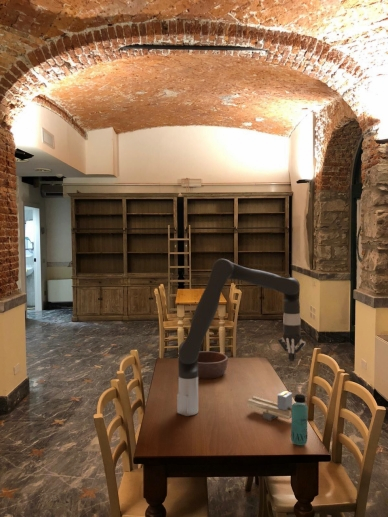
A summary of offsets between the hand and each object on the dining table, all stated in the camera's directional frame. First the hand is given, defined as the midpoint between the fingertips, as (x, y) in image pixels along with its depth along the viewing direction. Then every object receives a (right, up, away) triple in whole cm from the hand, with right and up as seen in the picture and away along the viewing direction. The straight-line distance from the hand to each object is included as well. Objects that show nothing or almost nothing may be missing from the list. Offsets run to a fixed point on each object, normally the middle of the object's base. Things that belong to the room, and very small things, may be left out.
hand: (292, 360), depth 188 cm
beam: (-9, -27, +3) cm, 28 cm away
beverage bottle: (-2, -28, -22) cm, 36 cm away
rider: (-4, -22, -2) cm, 22 cm away
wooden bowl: (-36, -23, +63) cm, 76 cm away
